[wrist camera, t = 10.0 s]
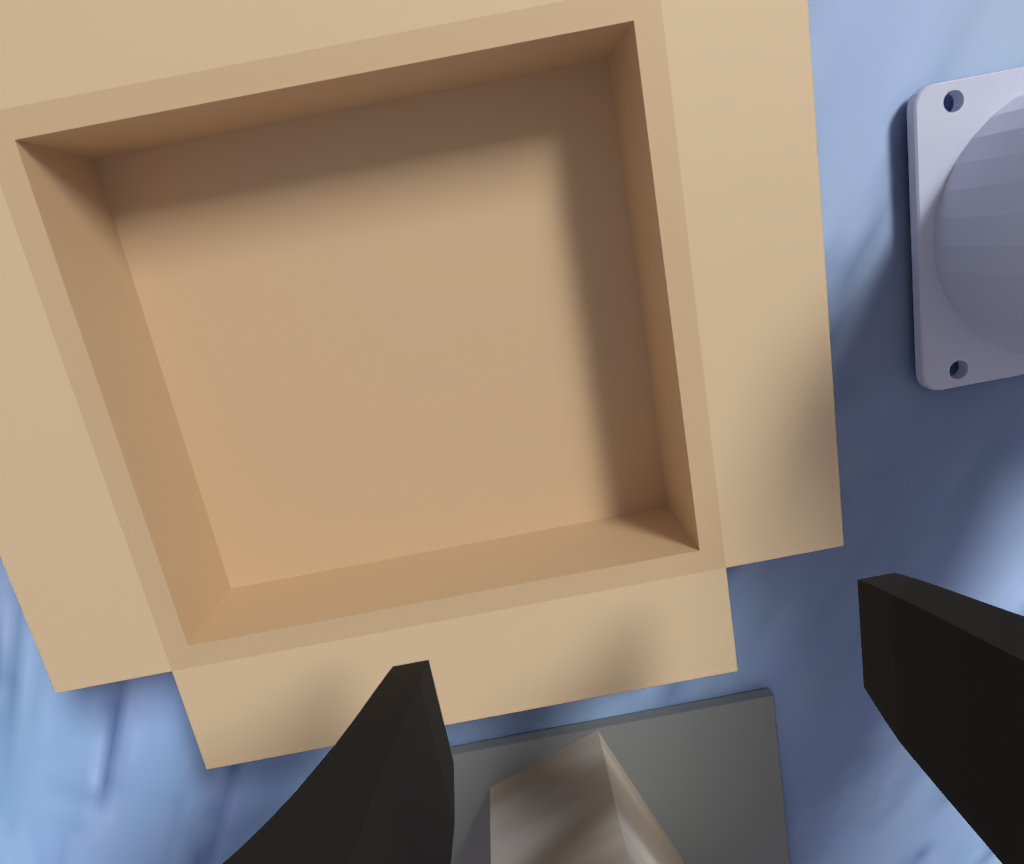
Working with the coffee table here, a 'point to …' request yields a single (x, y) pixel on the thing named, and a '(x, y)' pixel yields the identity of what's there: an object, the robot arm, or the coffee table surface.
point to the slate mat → (657, 777)
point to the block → (575, 813)
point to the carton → (405, 346)
